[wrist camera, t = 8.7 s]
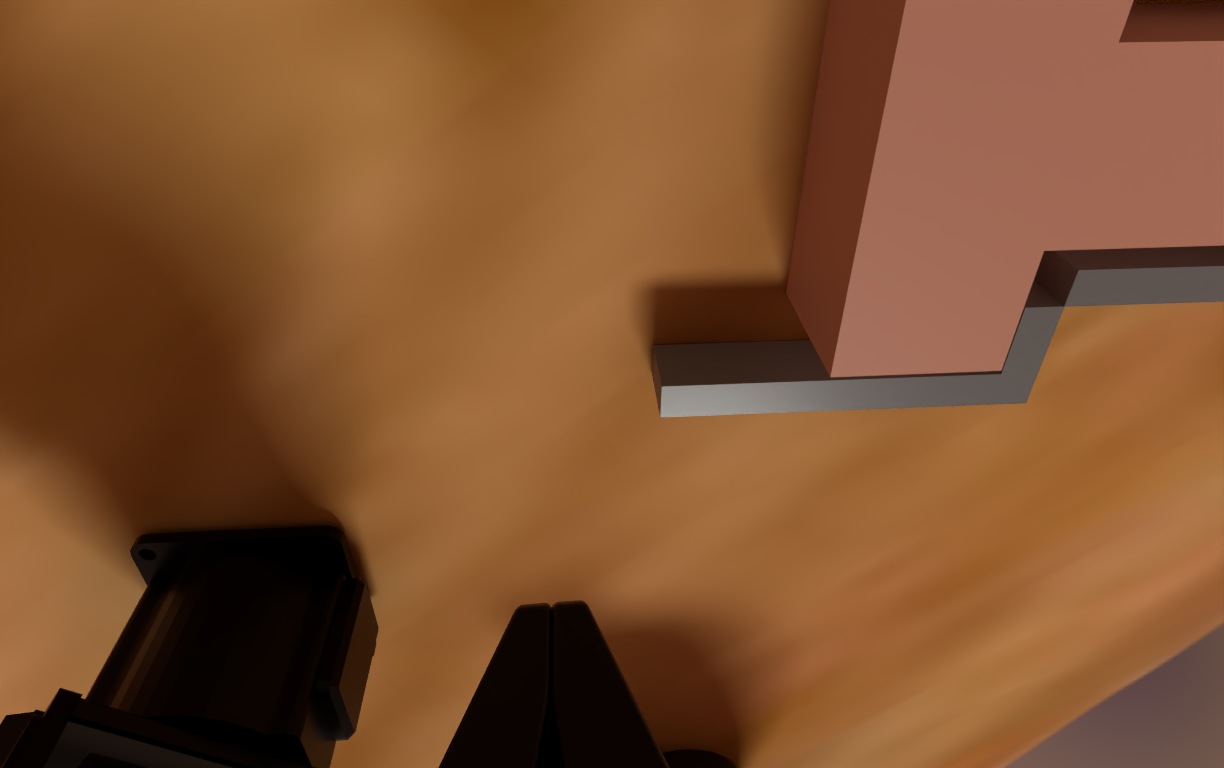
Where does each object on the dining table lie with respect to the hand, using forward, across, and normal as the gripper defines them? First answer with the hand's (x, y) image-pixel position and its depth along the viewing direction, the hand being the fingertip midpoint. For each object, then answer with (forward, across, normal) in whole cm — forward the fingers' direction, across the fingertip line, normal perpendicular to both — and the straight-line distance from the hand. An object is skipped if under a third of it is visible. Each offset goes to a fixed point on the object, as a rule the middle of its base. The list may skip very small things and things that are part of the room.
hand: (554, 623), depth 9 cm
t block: (+12, -12, -3) cm, 17 cm away
